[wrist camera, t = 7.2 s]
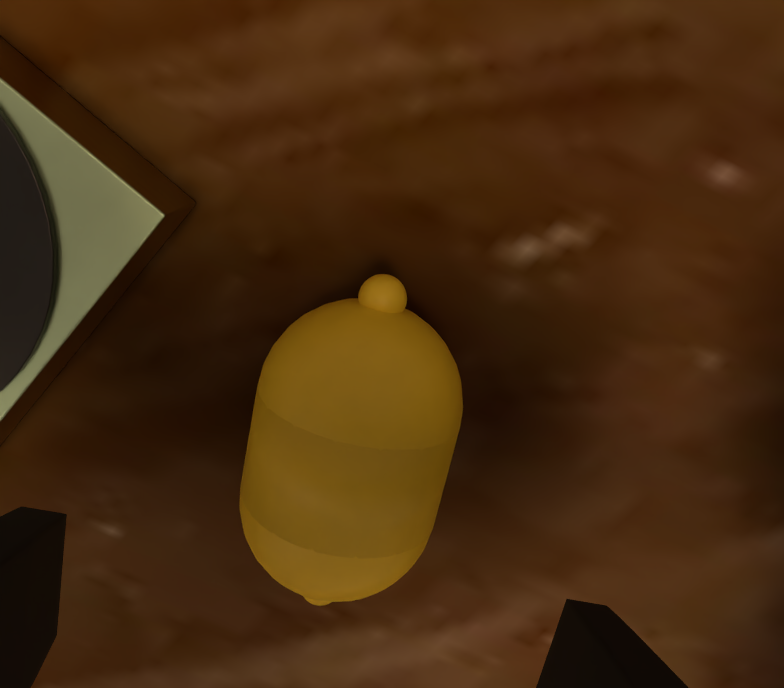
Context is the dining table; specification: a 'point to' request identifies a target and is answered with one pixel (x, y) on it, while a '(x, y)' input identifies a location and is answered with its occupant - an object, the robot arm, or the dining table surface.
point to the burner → (23, 255)
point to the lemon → (350, 446)
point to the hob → (81, 218)
